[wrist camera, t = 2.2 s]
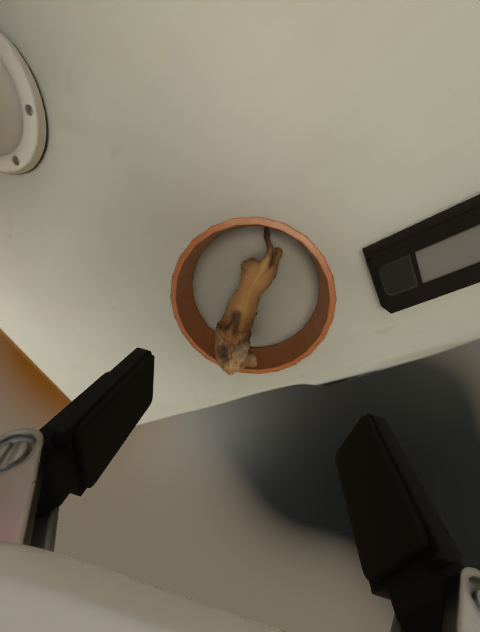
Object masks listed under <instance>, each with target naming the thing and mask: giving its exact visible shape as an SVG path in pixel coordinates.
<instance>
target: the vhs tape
mask: <svg viewBox="0 0 480 632" xmlns="http://www.w3.org/2000/svg"><path fill="white" fill-rule="evenodd" d="M363 252H364V255H365V258H366V261H367V264H368V267H369V270H370V273H371V276H372V279H373V282H374V285H375V288H376V291H377V294H378V297H379V300H380V303H381V306H382V307H383V308H384V309H386V310H387V311H388V312H390V313H394V312H397V311H400V310H403V309H406V308H408V307H411V306H414V305H417V304H420V303H422V302H425V301H428V300H431V299H434V298H437V297H439V296H442V295H445V294H448V293H451V292H453V291H456V290H459V289H462V288H465V287H468V286H470V285H473V284H476V283H479V282H480V195H478V196H476V197H473V198H471V199H469V200H467V201H465V202H463V203H460V204H458V205H456V206H454V207H452V208H450V209H448V210H445V211H443V212H441V213H439V214H437V215H435V216H433V217H430V218H428V219H426V220H424V221H422V222H420V223H418V224H415V225H413V226H411V227H409V228H407V229H405V230H402V231H400V232H398V233H396V234H394V235H392V236H390V237H387V238H385V239H383V240H381V241H379V242H377V243H375V244H372V245H370V246H368V247H366V248H364V249H363Z"/></svg>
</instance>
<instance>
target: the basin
mask: <svg viewBox="0 0 480 632" xmlns="http://www.w3.org/2000/svg"><path fill="white" fill-rule="evenodd" d="M241 225H262V226H266V227H270V228H274V229H278V230H281V231H283V232H285V233H287V234H288V235H290V236H292V237H293V238H295V239H297V240H298V241H299V242H300V243H301V244H302V245H303V246H304V247H305V248H306V249H307V251H308V252H309V253H310V255H311V257H312V259H313V261H314V263H315V265H316V267H317V271H318V277H319V282H320V290H319V299H318V304H317V306H316V308H315V311H314V313H313V316H312V318H311V319H310V320H309V322H308V323H307V324H306V325H305V327H304V328H303V329H302V330H301V331H300V332H298V333H297V334H296V335H295V336H293V337H292V338H291V339H289V340H287V341H284V342H282V343H280V344H277V345H274V346H268V347H262V348H258V347H250V348H249V351H251V352H252V353H253V355H255V357H256V362H257V365H256V366H255V367H245V368H244V369H240V371H238V372H241V373H254V374H262V373H269V372H275V371H280V370H282V369H285V368H287V367H290V366H293V365H295V364H297V363H298V362H300V361H301V360H303V359H304V358H305V357H307V356H308V355H310V354H311V353H312V352H313V351H314V350H315V349H316V347H317V346H318V345H319V344H320V343H321V342H322V341H323V339H324V338H325V336H326V334H327V332H328V329H329V327H330V325H331V323H332V321H333V317H334V311H335V304H336V292H335V285H334V278H333V275H332V273H331V271H330V268H329V266H328V264H327V262H326V260H325V258H324V256H323V254H322V253H321V252H320V251H319V250H318V249H317V248H316V247H315V245H314V244H313V243H312V242H311V241H310V240H309V239H308V238H307V237H306V236H305V235H303V234H301V233H300V232H298V231H296V230H295V229H293V228H291V227H289V226H288V225H286V224H284V223H281V222H277V221H273V220H269V219H265V218H261V217H252V218H234V219H231V220H228V221H225V222H222V223H219V224H216V225H214V226H211V227H209V228H208V229H207V230H205V231H204V232H203V233H201V234H200V235H199V236H197V237H196V238H195V239H193V240H192V241H191V243H190V244H189V245H188V247H187V248H186V249H185V251H184V252H183V253H182V255H181V256H180V257H179V260H178V262H177V265H176V268H175V270H174V273H173V276H172V284H171V296H170V297H171V302H172V308H173V313H174V317H175V319H176V321H177V323H178V326H179V328H180V330H181V332H182V334H183V335H184V336H185V338H186V339H187V340H188V341H189V343H190V344H191V345H192V347H193V348H194V349H196V350H197V351H198V352H199V353H200V354H202V355H203V356H204V357H205V358H206V359H208V360H210V361H212V362H214V363H216V364H217V365H219V364H218V363H217V362H216V353H215V348H214V345H215V335H216V334H215V332H214V331H213V330H212V329H211V328H210V327H208V325H207V324H206V323H205V321H204V320H203V318H202V317H201V316H200V314H199V312H198V309H197V307H196V304H195V302H194V297H193V290H192V280H193V272H194V268H195V266H196V263H197V261H198V258H199V256H200V254H201V253H202V252H203V250H204V249H205V248H206V247H207V245H208V244H209V243H210V242H211V241H212V240H213V239H215V238H216V237H217V236H219V235H220V234H222V233H223V232H225V231H227V230H230V229H233V228H236V227H238V226H241ZM219 366H220V365H219Z"/></svg>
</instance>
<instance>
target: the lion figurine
mask: <svg viewBox="0 0 480 632" xmlns="http://www.w3.org/2000/svg"><path fill="white" fill-rule="evenodd" d="M264 239H265V241H266V244H267V253H266V255H265V257H264V258H263V260H261V262H259V261H257V260H255V259H254V258H250V259H249V260H246V261H244V262H243V263H242V264H241V269H242V272H241V279H240V284H239V287H238V289H237V290H236V291H235V293H234V295H233V296H232V298H231V299H230V301H229V303H228V306H227V309H226V313H225V314H224V315H223V317H222V320H220V321H219V323H218V324H217V327H216V330H215V334H216V335H215V345H214V348H215V353H216V362H217V363H218V364H219V365H220V367H221V368H222V369H223V371H225V372H226V373H228V375H229V376H230V375H231V374H234V373H236V372H238V371H240V369H244V368H245V367H255V366H256V365H257V362H256V357H255V355H253V353H252V352H251V351H249V348H250V341H249V340H250V337H251V333H252V332H251V328H252V326H253V321H254V317H255V316H256V315H257V312H256V310H257V306H258V302H259V298H260V294H261V293H263V292H264V291H265V290H266V289H267V288H268V287H269V286H270V284H271V282H272V280H273V279H274V278H275V276H276V271H277V267H278V263H279V260H280V258H281V256H282V250H281V249H280V248H278V247H277V248H275V249H274V250H273V246H272V243H271V240H270V233H269V229H268V227H265V229H264ZM271 257H273V260H272V263H271V264H270V260H271ZM269 264H270V265H269Z"/></svg>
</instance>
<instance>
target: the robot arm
mask: <svg viewBox="0 0 480 632" xmlns="http://www.w3.org/2000/svg"><path fill="white" fill-rule="evenodd" d="M45 142H46V119H45V111H44V107H43V103H42V99H41V96H40V93H39V90H38V87H37V85H36V82H35V80H34V78H33V76H32V74H31V72H30V70H29V68H28V66H27V64H26V62H25V61H24V59H23V58H22V56H21V55H20V53H19V51H18V50H17V49H16V48H15V46H14V45H13V44H12V43H11V42H10V40H9V39H8V38H7V37H6V36H5V35H4V34H3V33H2V32H1V31H0V172H4V173H9V174H21V173H25V172H28V171H29V170H31V169H32V168H34V167H35V165H36V164H37V163H38V162H39V160H40V158H41V156H42V154H43V151H44V147H45ZM153 378H154V356H153V355H152V353H151V351H148V350H145V349H141V348H136V349H135V350H134V351H133V352H131V353H130V354H129V355H128V356H127V357H126V358H125V359H124V360H122V361H121V362H120V363H119V364H118V365H117V366H116V367H115V368H113V369H112V370H111V371H110V372H107V373H105V374H103V375H102V376H101V377H100V378H99V379H97V380H96V381H95V382H94V383H93V384H92V385H91V386H89V387H88V388H87V389H86V390H85V391H84V392H83V393H81V394H80V395H79V396H78V397H77V398H76V399H74V400H73V401H72V402H71V403H70V404H69V405H68V406H66V407H65V408H64V409H63V410H62V411H61V412H59V413H58V414H57V415H56V416H55V417H54V418H53V419H51V420H50V421H49V422H48V423H47V424H46V425H45V426H43V427H42V428H41V429H40V430H37V429H35V428H20V429H15V430H12V431H9V432H6V433H3V434H1V435H0V632H285V631H282V630H279V629H276V628H273V627H271V626H268V625H265V624H262V623H259V622H256V621H254V620H251V619H248V618H245V617H242V616H239V615H237V614H234V613H231V612H228V611H225V610H222V609H219V608H216V607H214V606H211V605H208V604H205V603H202V602H199V601H197V600H194V599H191V598H188V597H185V596H182V595H180V594H177V593H174V592H171V591H168V590H165V589H162V588H159V587H156V586H154V585H150V584H148V583H145V582H142V581H139V580H136V579H133V578H130V577H127V576H125V575H121V574H119V573H115V572H113V571H110V570H107V569H104V568H101V567H98V566H95V565H92V564H89V563H86V562H83V561H80V560H76V559H73V558H70V557H67V556H64V555H60V554H58V553H54V546H55V538H56V529H57V521H58V512H59V506H60V505H61V504H62V503H63V501H64V500H65V499H66V498H67V496H68V495H69V494H70V493H71V494H74V495H77V496H81V495H82V494H83V493H84V491H85V490H86V488H91V487H92V486H93V485H94V484H95V483H96V482H97V480H98V478H99V477H100V476H101V474H102V473H103V471H104V470H105V469H106V467H107V466H108V464H109V463H110V461H111V460H112V459H113V457H114V456H115V454H116V453H117V452H118V450H119V449H120V447H121V446H122V444H123V443H124V441H125V440H126V438H127V437H128V436H129V434H130V433H131V431H132V430H133V428H134V427H135V426H136V424H137V423H138V421H139V420H140V419H141V417H142V416H143V414H144V413H145V411H146V410H147V409H148V407H149V406H150V404H151V402H152V398H153ZM335 460H336V465H337V469H338V473H339V477H340V481H341V485H342V489H343V493H344V497H345V501H346V505H347V509H348V513H349V518H350V521H351V526H352V529H353V534H354V537H355V542H356V546H357V550H358V554H359V558H360V562H361V566H362V570H363V573H364V575H365V577H366V578H367V579H368V580H369V583H370V586H371V591H372V594H374V595H377V596H380V597H383V598H386V599H391V602H392V605H393V609H394V612H395V615H394V618H393V623H392V627H391V631H390V632H480V571H479V570H477V569H475V568H470V567H467V568H465V569H464V567H463V566H462V564H461V562H460V560H461V559H462V558H463V557H462V556H461V554H460V552H459V550H458V548H457V546H456V545H455V543H454V541H453V539H452V538H451V536H450V534H449V532H448V530H447V529H446V527H445V525H444V523H443V521H442V520H441V518H440V516H439V514H438V513H437V511H436V509H435V507H434V505H433V503H432V502H431V500H430V498H429V496H428V494H427V493H426V491H425V489H424V487H423V486H422V484H421V482H420V480H419V479H418V476H417V475H416V473H415V471H414V469H413V468H412V466H411V464H410V462H409V460H408V459H407V457H406V455H405V454H404V452H403V450H402V448H401V446H400V444H399V442H398V441H397V439H396V437H395V436H394V433H393V432H392V430H391V428H390V426H389V424H388V423H387V421H386V420H385V419H384V418H383V417H379V416H375V415H372V414H366V415H365V416H362V417H361V418H360V419H359V421H358V422H357V424H356V425H355V427H354V428H353V430H352V431H351V432H350V434H349V435H348V437H347V438H346V440H345V441H344V443H343V444H342V445H341V447H340V448H339V450H338V451H337V453H336V459H335Z"/></svg>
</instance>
